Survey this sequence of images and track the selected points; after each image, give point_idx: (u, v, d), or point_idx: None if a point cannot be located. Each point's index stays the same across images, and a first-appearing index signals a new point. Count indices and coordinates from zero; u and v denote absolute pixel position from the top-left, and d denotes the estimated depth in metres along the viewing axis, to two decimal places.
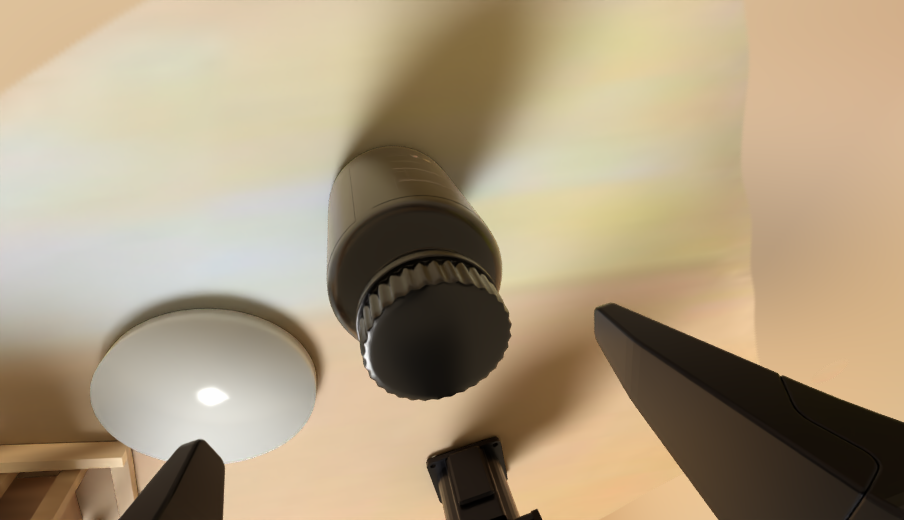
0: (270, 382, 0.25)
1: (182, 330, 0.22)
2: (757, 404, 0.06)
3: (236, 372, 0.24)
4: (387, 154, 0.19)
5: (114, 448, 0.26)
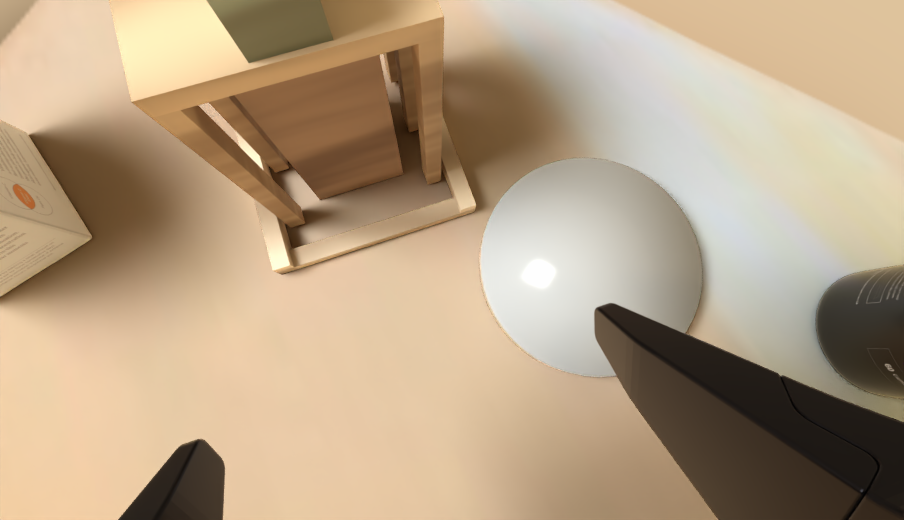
0: (644, 308, 0.22)
1: (670, 208, 0.23)
2: (757, 404, 0.06)
3: (641, 270, 0.22)
4: None
5: None
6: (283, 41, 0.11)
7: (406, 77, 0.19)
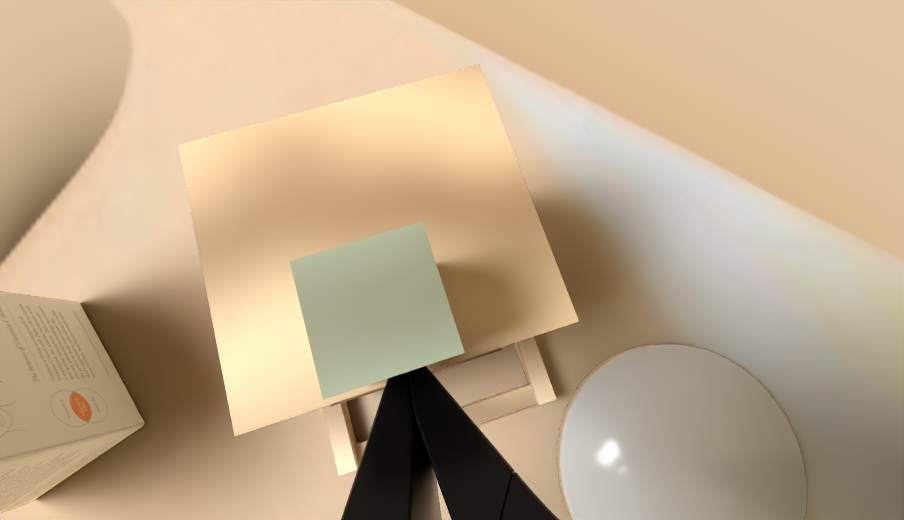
0: None
1: (767, 405, 0.21)
2: (470, 510, 0.06)
3: (739, 480, 0.20)
4: None
5: None
6: None
7: None
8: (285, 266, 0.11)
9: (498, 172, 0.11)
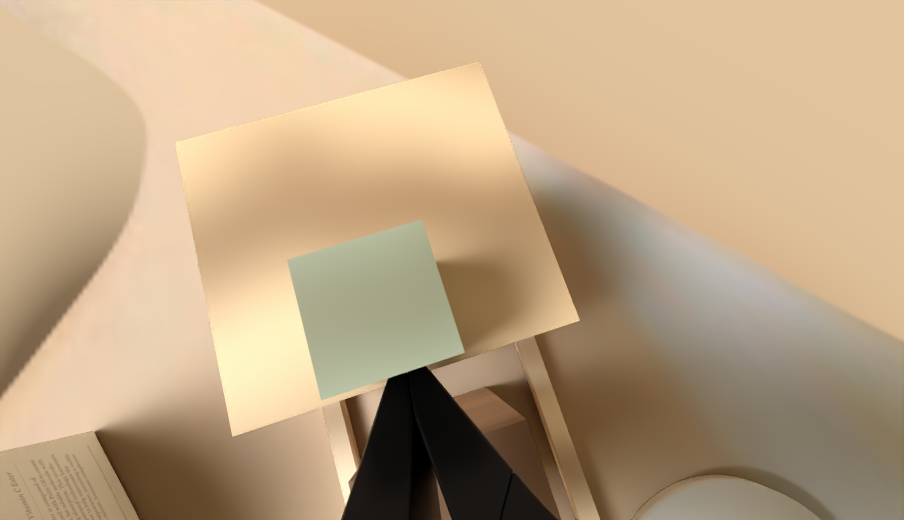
0: None
1: None
2: (470, 510, 0.06)
3: None
4: None
5: None
6: None
7: None
8: (283, 265, 0.10)
9: (498, 170, 0.11)
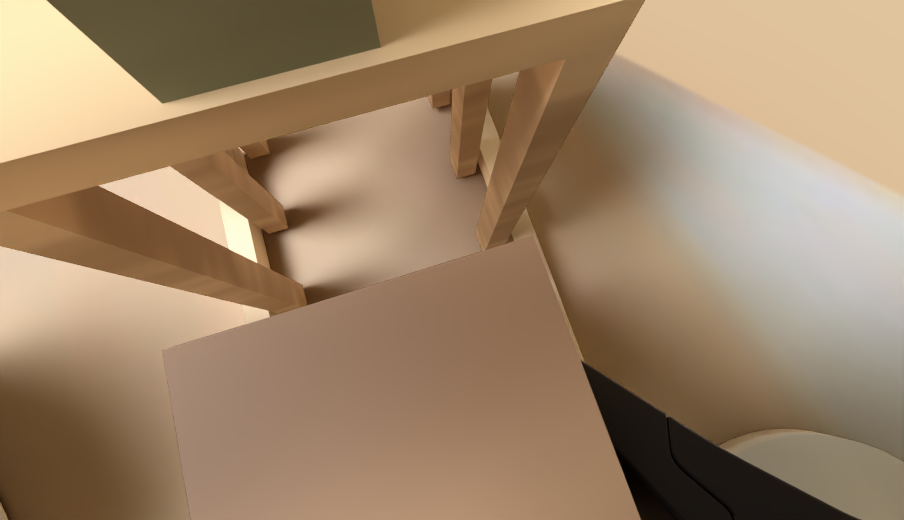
0: None
1: None
2: (636, 449, 0.06)
3: None
4: None
5: None
6: (250, 49, 0.04)
7: (470, 107, 0.12)
8: None
9: None
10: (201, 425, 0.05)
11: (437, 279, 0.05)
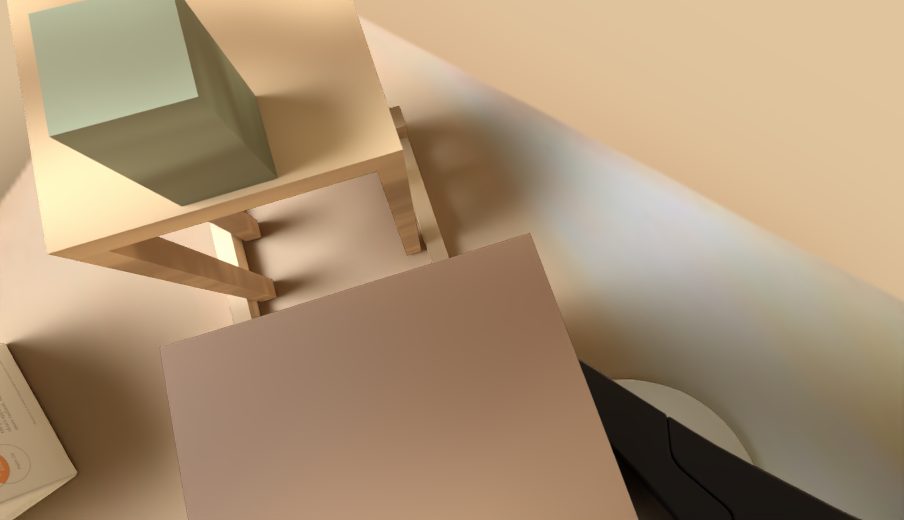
0: None
1: (730, 444, 0.20)
2: (636, 449, 0.06)
3: None
4: None
5: None
6: (218, 187, 0.10)
7: None
8: None
9: (333, 11, 0.11)
10: (198, 422, 0.05)
11: (434, 277, 0.05)
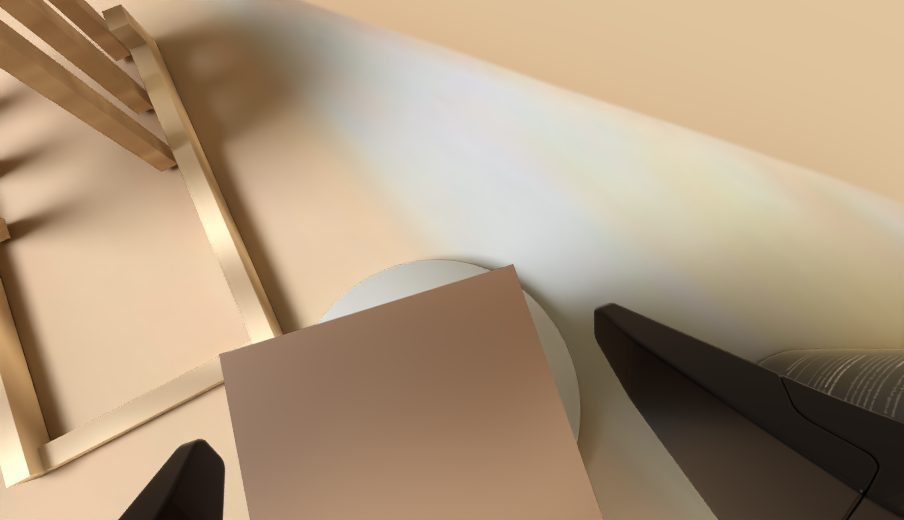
0: None
1: (530, 312, 0.18)
2: (757, 404, 0.06)
3: None
4: None
5: (279, 335, 0.18)
6: None
7: (49, 37, 0.16)
8: None
9: None
10: (250, 413, 0.06)
11: (436, 299, 0.07)
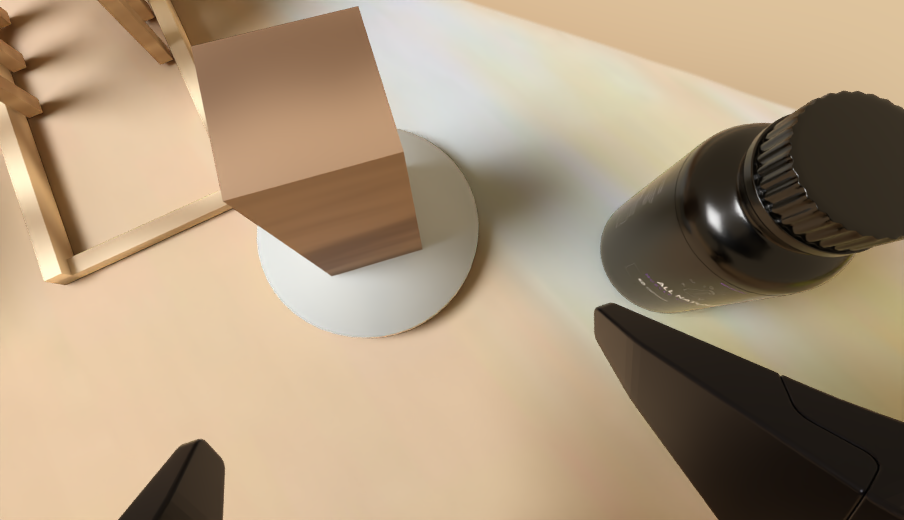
0: (422, 263, 0.22)
1: (443, 164, 0.23)
2: (757, 404, 0.06)
3: (418, 227, 0.22)
4: None
5: None
6: None
7: None
8: None
9: None
10: (207, 73, 0.12)
11: (312, 22, 0.12)
